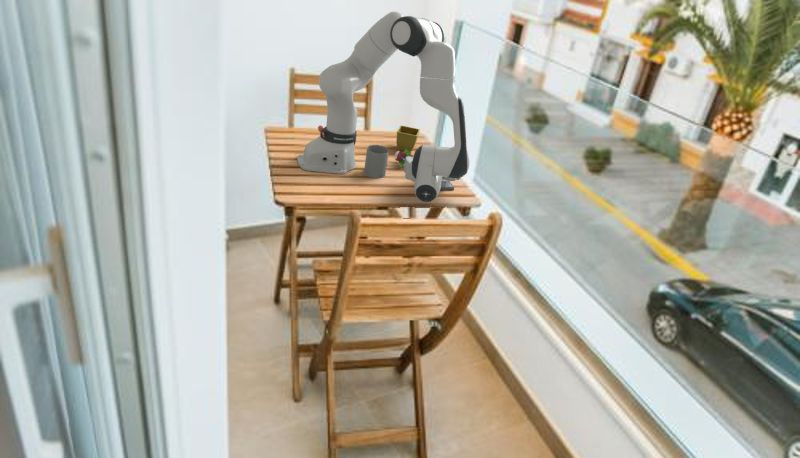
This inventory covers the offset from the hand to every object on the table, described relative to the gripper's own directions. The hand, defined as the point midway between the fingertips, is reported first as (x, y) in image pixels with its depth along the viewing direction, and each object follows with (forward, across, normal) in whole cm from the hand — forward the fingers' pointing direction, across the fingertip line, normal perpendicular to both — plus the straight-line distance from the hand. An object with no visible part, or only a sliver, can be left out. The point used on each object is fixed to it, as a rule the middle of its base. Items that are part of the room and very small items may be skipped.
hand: (433, 160), depth 195 cm
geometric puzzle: (+12, +12, +10) cm, 19 cm away
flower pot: (+29, +13, +10) cm, 33 cm away
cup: (-1, +21, +10) cm, 23 cm away
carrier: (+3, -1, +9) cm, 10 cm away
